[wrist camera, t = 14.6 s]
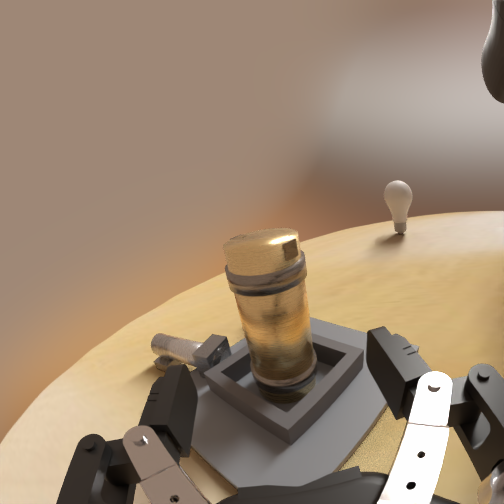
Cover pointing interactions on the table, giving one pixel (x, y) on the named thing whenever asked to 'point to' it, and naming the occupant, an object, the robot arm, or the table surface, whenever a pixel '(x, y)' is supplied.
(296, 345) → the gold cylindrical piece
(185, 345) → the shaft
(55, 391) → the table surface
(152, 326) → the table surface
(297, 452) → the stand
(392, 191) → the lightbulb
